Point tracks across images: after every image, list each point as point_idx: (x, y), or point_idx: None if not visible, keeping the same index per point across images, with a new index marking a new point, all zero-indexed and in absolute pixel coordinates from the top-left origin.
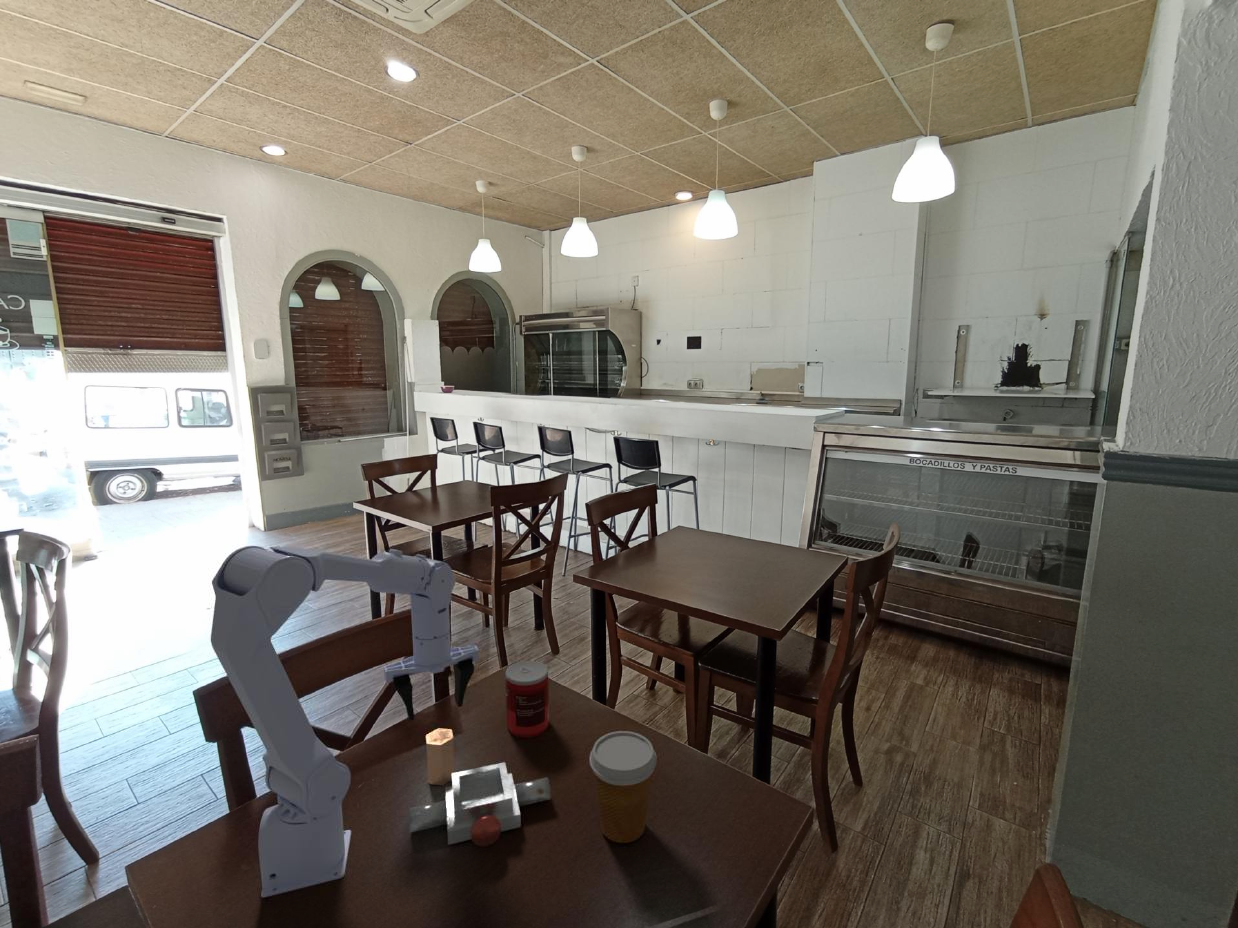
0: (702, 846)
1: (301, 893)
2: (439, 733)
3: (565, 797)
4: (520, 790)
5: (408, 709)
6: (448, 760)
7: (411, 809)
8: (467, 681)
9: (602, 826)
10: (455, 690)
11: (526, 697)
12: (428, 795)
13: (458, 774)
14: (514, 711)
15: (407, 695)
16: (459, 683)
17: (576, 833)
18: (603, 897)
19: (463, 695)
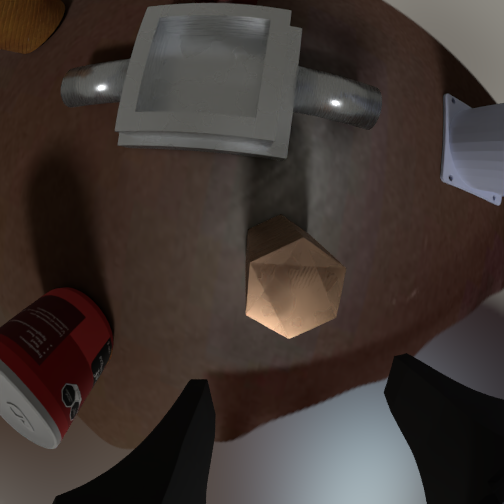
0: None
1: (476, 105)
2: (292, 308)
3: None
4: (119, 62)
5: (443, 376)
6: (267, 233)
7: (377, 103)
8: (120, 468)
9: (59, 9)
10: (208, 451)
11: (19, 337)
12: (313, 203)
13: (255, 127)
14: (70, 337)
15: (494, 413)
16: (175, 478)
17: (89, 21)
18: None
19: (170, 412)
